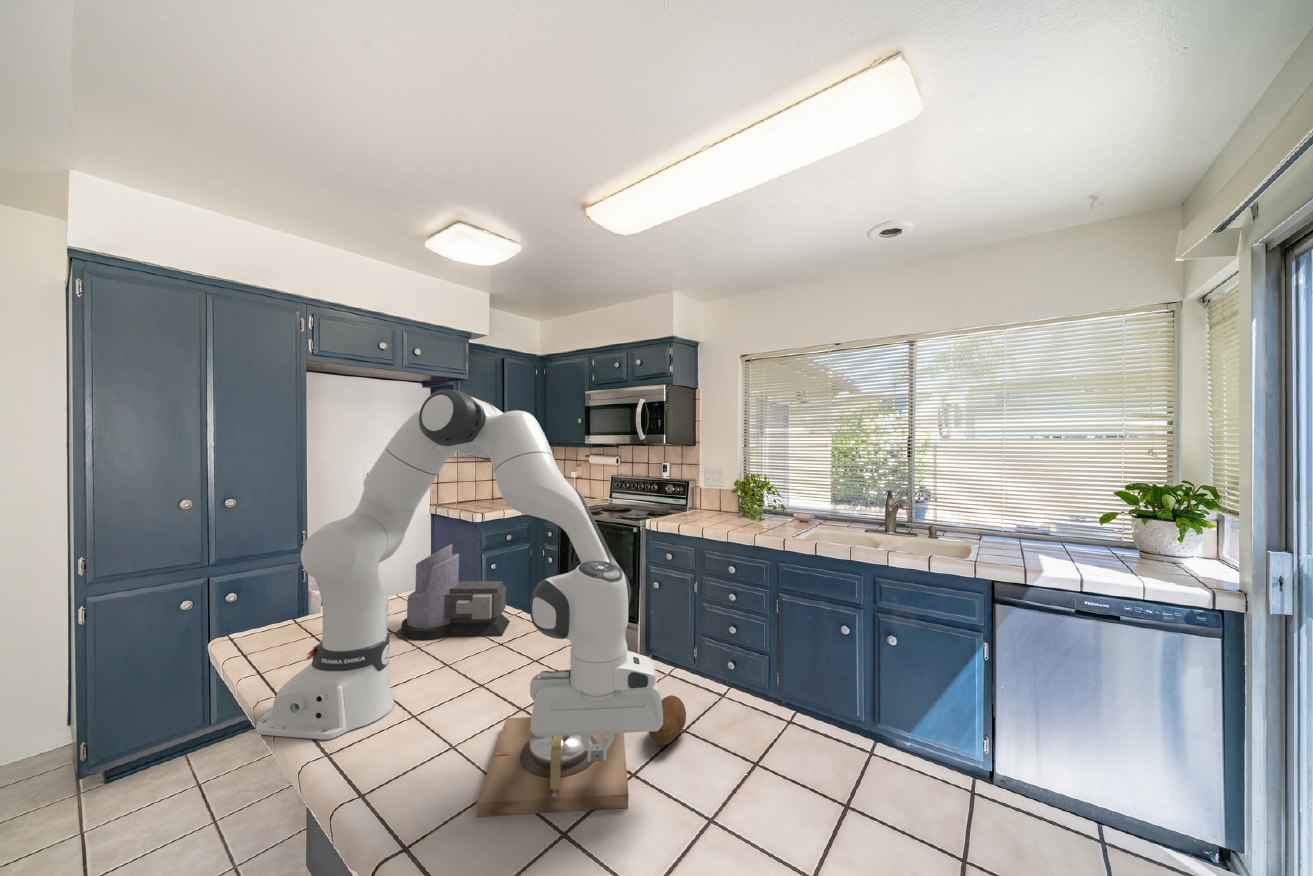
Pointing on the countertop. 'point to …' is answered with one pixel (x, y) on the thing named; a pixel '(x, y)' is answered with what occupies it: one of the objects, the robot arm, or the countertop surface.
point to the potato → (670, 720)
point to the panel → (527, 784)
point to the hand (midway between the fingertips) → (596, 758)
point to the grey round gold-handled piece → (557, 754)
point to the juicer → (452, 603)
